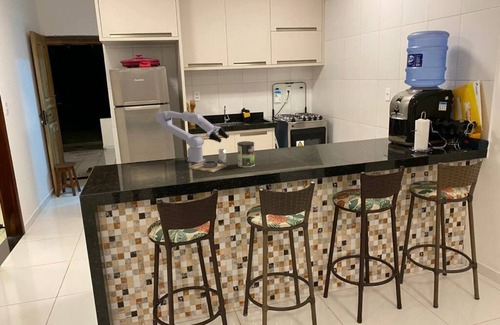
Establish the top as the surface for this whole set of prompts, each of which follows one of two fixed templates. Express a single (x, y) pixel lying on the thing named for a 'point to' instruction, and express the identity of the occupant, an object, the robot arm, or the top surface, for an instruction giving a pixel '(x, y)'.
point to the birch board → (200, 166)
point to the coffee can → (245, 154)
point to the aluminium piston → (222, 155)
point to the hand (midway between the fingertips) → (224, 139)
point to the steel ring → (210, 164)
